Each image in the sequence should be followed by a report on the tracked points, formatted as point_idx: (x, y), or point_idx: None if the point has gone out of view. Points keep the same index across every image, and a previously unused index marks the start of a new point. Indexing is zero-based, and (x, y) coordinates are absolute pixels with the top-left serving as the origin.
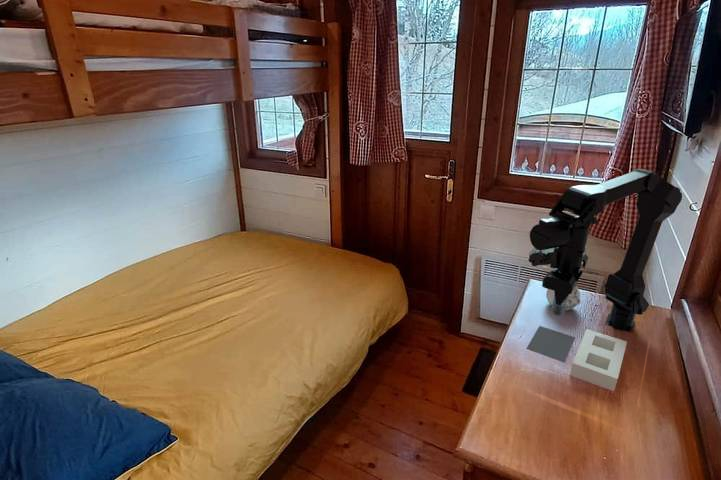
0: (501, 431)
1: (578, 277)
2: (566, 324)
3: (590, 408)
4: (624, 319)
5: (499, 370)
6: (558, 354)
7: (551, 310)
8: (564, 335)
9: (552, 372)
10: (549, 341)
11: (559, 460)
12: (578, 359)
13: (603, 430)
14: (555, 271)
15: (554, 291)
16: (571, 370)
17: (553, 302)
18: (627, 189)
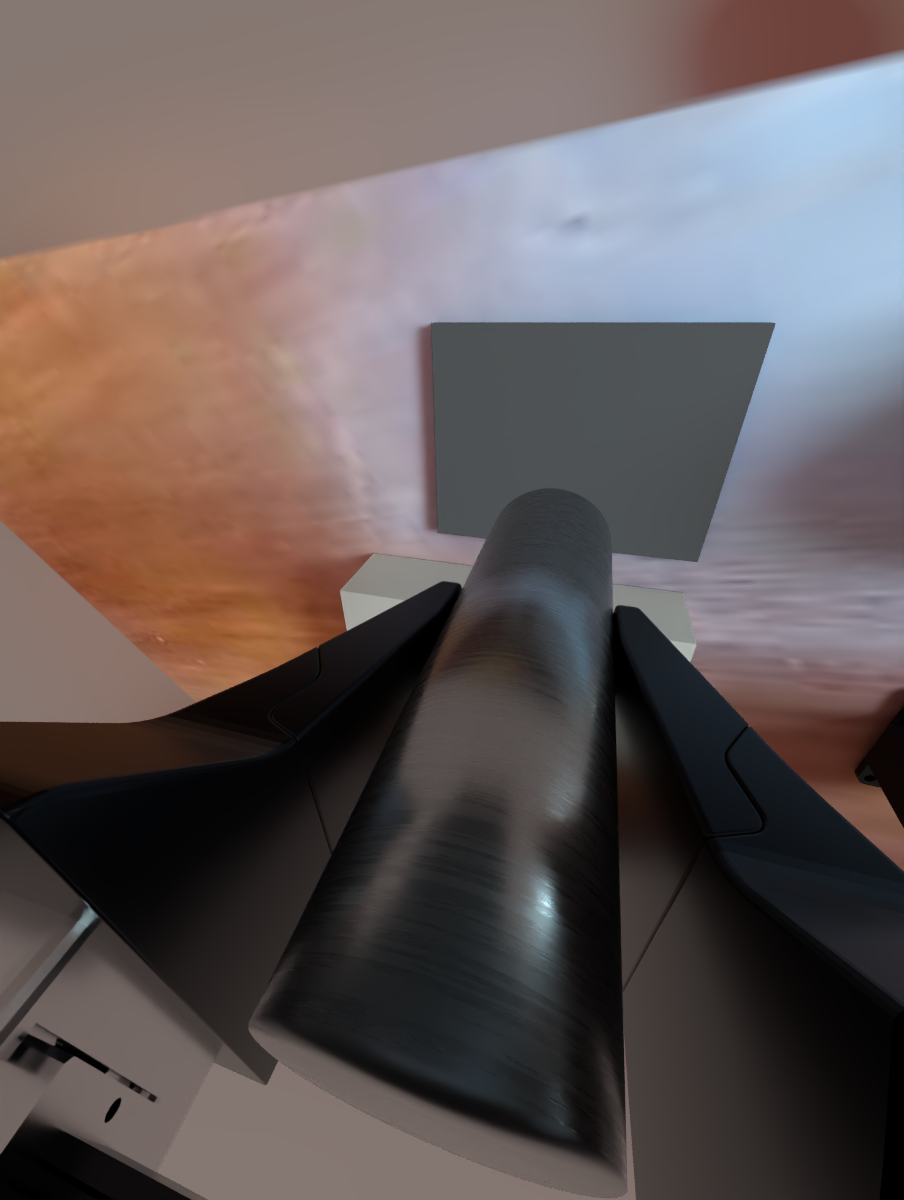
0: None
1: (641, 1167)
2: (885, 495)
3: (278, 616)
4: (902, 811)
5: (187, 244)
6: (480, 500)
7: (523, 497)
8: (692, 506)
9: (356, 490)
10: (582, 436)
11: (66, 556)
12: (381, 610)
13: (230, 641)
14: (883, 1015)
15: (284, 665)
16: (357, 572)
17: (494, 546)
18: None
